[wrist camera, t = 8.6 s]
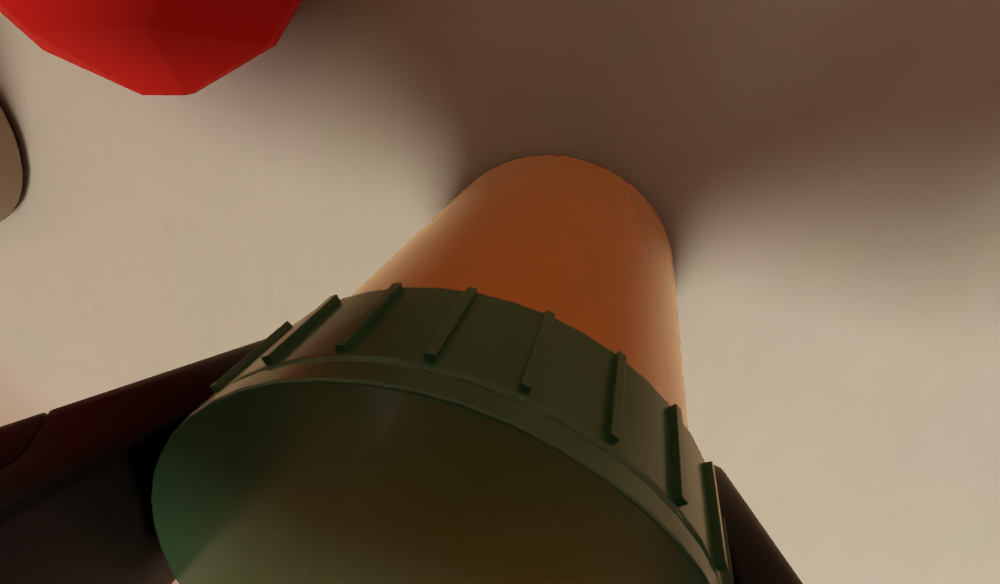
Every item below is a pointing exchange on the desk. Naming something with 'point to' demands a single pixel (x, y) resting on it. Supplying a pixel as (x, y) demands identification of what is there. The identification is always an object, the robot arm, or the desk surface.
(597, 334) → the jam jar
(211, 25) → the gemstone
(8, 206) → the travel mug
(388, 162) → the desk surface
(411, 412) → the jam lid
